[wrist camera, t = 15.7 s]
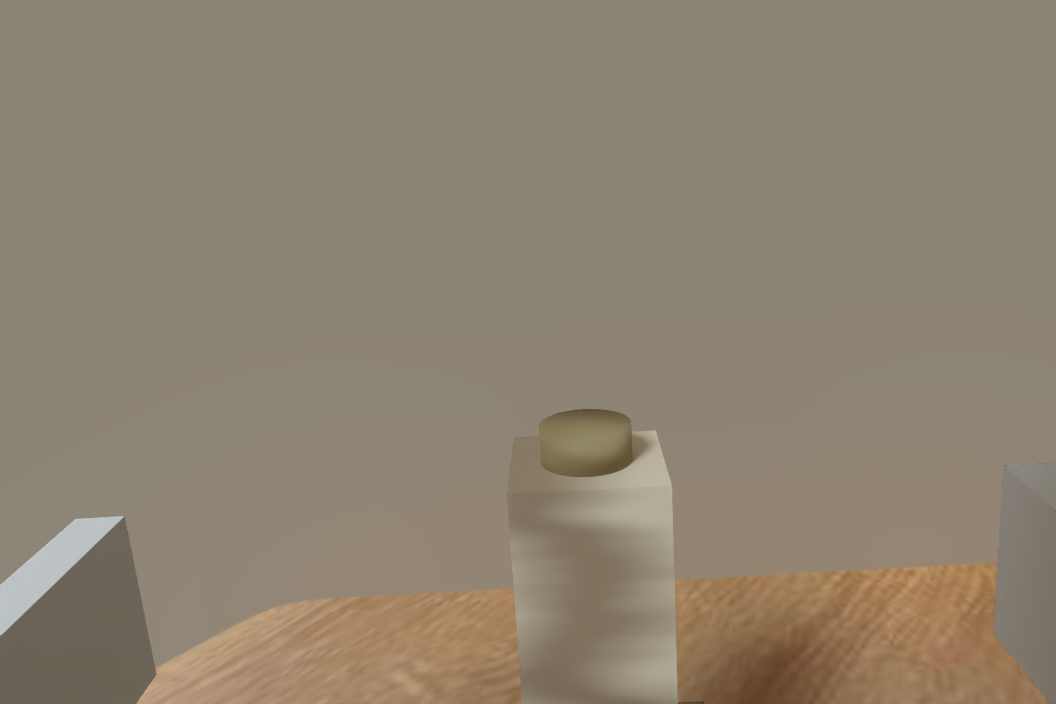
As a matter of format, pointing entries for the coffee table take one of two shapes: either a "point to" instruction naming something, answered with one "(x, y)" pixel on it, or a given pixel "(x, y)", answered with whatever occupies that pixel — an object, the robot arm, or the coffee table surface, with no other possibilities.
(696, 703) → the grey flat plate
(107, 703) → the robot arm
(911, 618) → the coffee table surface
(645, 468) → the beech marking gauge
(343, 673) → the coffee table surface
